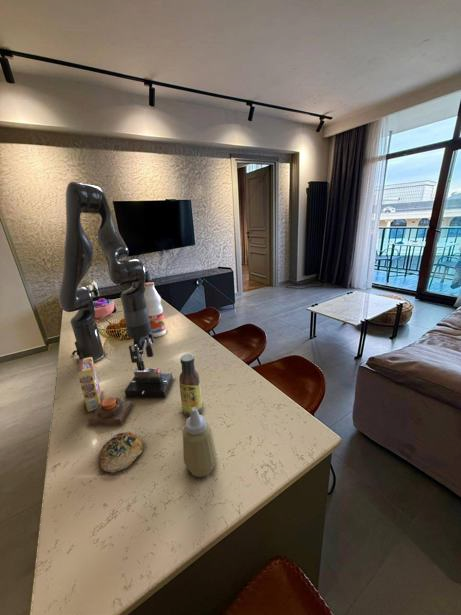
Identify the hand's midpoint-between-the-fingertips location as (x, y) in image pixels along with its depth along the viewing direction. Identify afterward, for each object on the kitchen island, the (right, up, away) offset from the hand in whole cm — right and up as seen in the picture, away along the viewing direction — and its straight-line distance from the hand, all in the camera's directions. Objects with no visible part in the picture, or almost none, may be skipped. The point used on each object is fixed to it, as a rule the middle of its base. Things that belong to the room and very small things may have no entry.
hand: (146, 363), depth 90 cm
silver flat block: (0, -7, +3) cm, 8 cm away
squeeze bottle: (+22, -20, -26) cm, 40 cm away
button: (-9, -12, -9) cm, 17 cm away
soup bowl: (-54, +14, +76) cm, 94 cm away
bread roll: (+1, -20, -22) cm, 29 cm away
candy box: (-17, -13, -1) cm, 22 cm away
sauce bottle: (+18, -14, -8) cm, 24 cm away
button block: (-8, -15, -8) cm, 19 cm away
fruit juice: (-10, +5, +48) cm, 49 cm away
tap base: (0, -10, +4) cm, 11 cm away
